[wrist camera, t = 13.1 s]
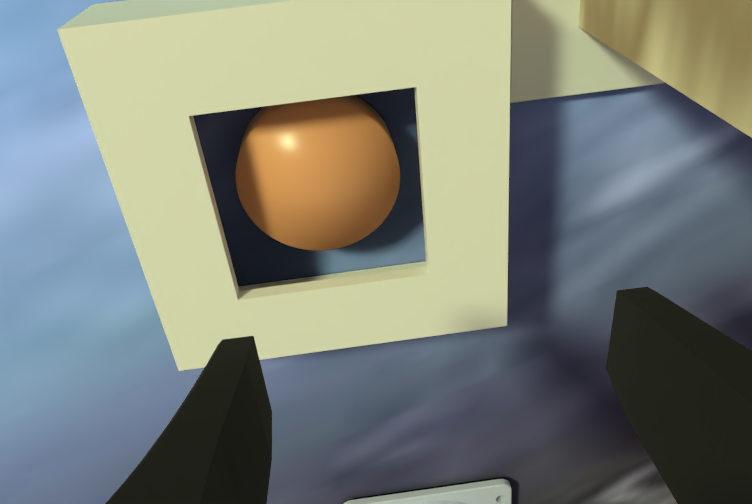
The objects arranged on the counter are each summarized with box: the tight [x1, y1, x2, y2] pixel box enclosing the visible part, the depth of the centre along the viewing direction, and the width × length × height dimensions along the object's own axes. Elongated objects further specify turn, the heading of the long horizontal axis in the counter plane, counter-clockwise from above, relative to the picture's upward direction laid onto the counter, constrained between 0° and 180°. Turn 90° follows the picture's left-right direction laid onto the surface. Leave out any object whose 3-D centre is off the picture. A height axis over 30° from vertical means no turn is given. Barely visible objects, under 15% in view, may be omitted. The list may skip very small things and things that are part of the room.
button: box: [236, 95, 400, 251], centre depth 20 cm, size 5×5×1 cm
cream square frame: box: [57, 0, 511, 371], centre depth 20 cm, size 11×11×3 cm
